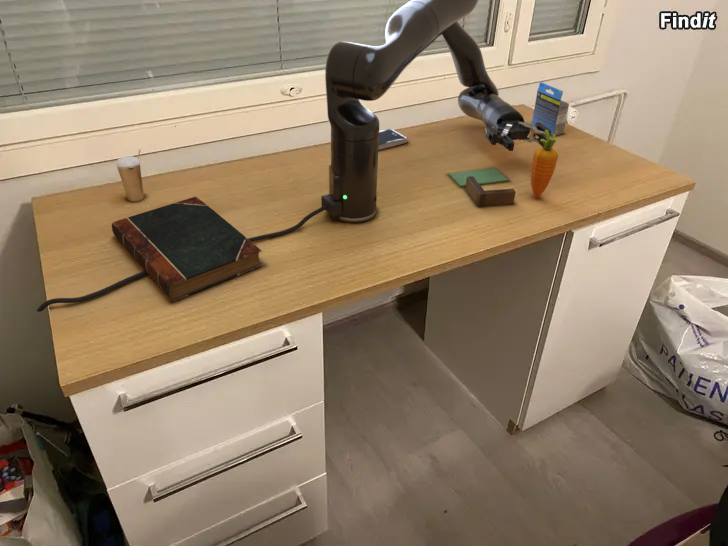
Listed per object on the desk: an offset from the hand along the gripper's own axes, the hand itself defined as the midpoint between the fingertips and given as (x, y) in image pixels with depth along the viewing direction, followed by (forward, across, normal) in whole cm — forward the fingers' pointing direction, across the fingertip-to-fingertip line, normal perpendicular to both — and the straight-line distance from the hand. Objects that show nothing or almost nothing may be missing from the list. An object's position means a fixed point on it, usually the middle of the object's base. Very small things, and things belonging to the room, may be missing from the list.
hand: (530, 146), depth 129 cm
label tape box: (-30, +20, +9) cm, 37 cm away
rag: (-4, -9, +9) cm, 14 cm away
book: (+17, -74, +9) cm, 76 cm away
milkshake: (-6, -85, +9) cm, 86 cm away
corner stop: (+5, -10, +9) cm, 14 cm away
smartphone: (-27, -29, +9) cm, 40 cm away
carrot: (+7, 0, +9) cm, 12 cm away
